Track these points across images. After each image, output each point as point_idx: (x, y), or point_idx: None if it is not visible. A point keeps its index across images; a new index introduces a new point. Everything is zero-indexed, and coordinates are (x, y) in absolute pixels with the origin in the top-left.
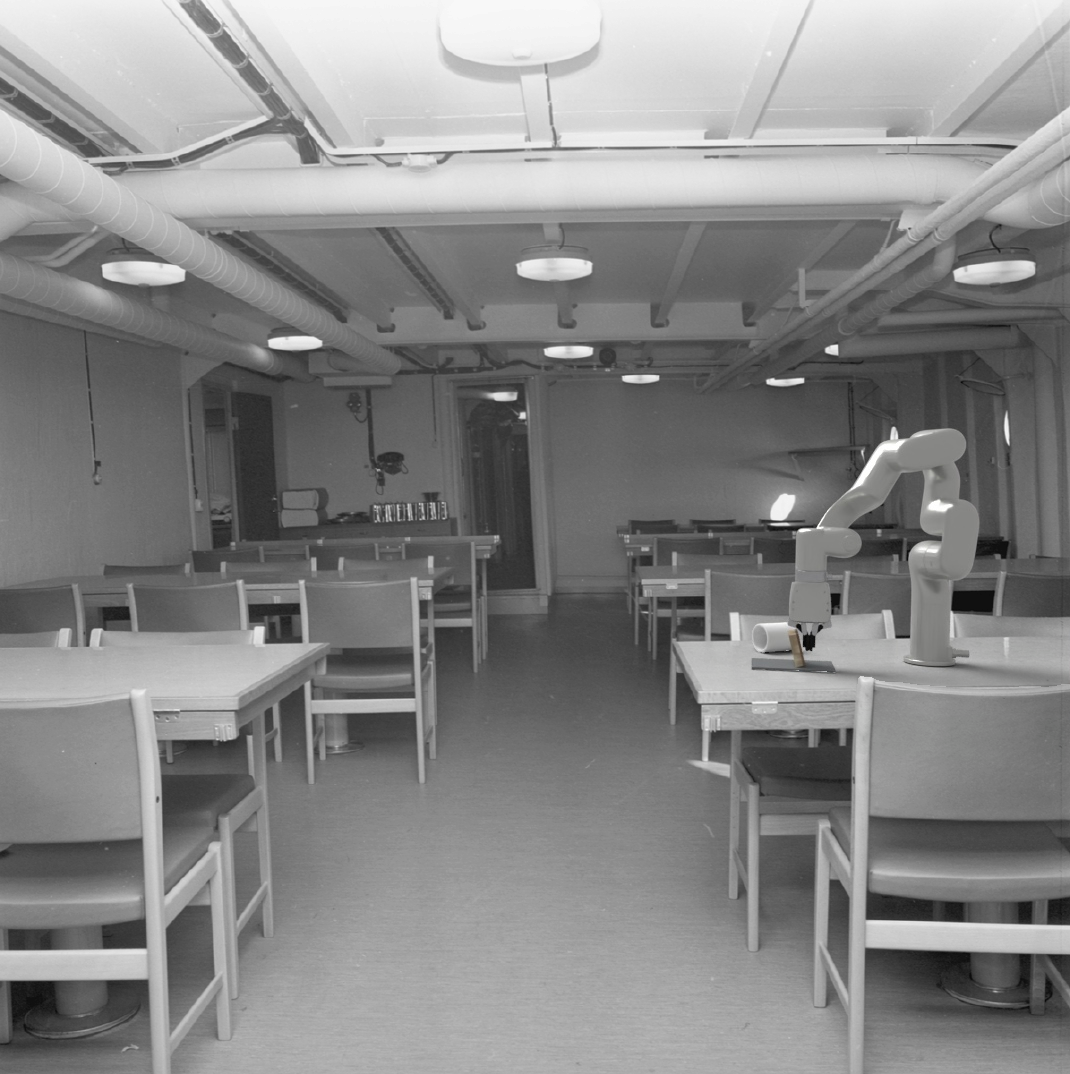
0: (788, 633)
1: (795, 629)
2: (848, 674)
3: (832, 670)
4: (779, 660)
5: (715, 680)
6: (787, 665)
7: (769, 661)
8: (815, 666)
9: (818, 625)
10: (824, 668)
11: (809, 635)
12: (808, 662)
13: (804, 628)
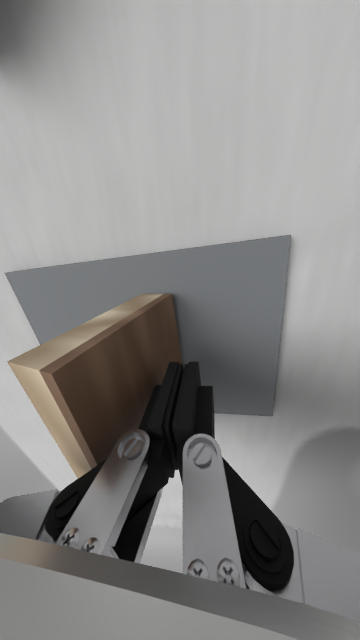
0: (66, 457)
1: (51, 386)
2: (305, 418)
3: (262, 414)
4: (94, 294)
5: (67, 478)
6: None
7: (75, 323)
8: (215, 369)
9: (243, 572)
10: (241, 392)
11: (177, 447)
12: (191, 303)
13: (135, 527)
